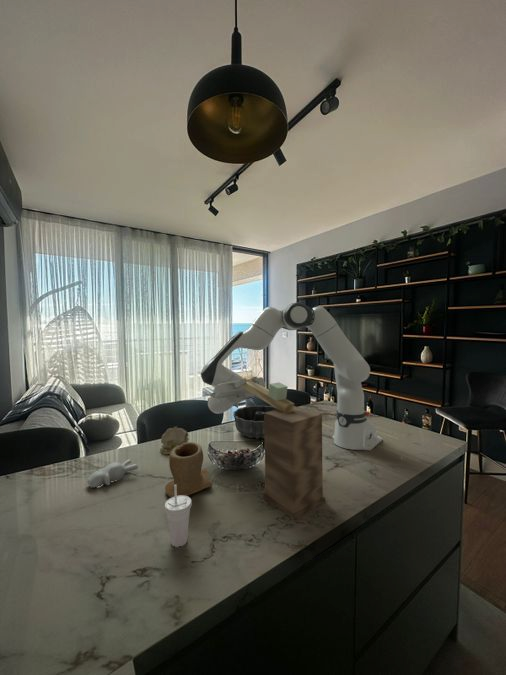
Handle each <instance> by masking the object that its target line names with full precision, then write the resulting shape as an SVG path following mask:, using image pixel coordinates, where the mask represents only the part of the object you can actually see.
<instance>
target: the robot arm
mask: <svg viewBox="0 0 506 675" xmlns="http://www.w3.org/2000/svg"><path fill="white" fill-rule="evenodd" d="M302 328H307V329H308V330H309V331H310V332H311V333H312V335H313V336H314V338H315V340H316V341H317V342H318V344H319V345H320V347H321V349H322V350H323V351H324V353H325V355H326V356H328V358H329V359H330V361H331V362H332V363H333V369H334V377H335V385H336V392H337V393H336V394H337V395H336V396H337V398H336V399H337V402H336V403H337V410H336V414H335V415H336V420H335V422H334V433H333V435H332V439H333V442H334V444H335V445H337V446H338V447H340V448H342V449H345V450H346V449H347V450H353V451H354V450H357V451H361V450H363V451H372V450H373V449H374V448H375V447H377V446H378V445H379V443H381V442H382V441H383V437H381V436H380V435H377V429H376V426H374V424H372V423H371V422H370V421H369V420H368V418H367V417H369V416H371V415H370V414H371V411H368V410H365V394H364V389H363V386H362V382H365V381H366V380H368V378H369V377H370V376H371V375H370V374H371V367H370V365H369V364H368V361H366V359H364V357H363V355H361V353H360V352H359V350H358V349H356V347H355V346H354V345H353V343H352V342H351V341H350V340H349V339H348V338H347V336H346V335H345V334H344V332H343V330H342V329H341V327H340V326H339V324H338V322H336V320H335V318H334V317H333V316H332V314H330V312H329V311H328V310H327V309H325V307H323V306H314V307H311V306H308V305H306V304H305V303H301V302H293V303H290V304H289V305H287V306H286V307H284V308H283V309H282V310H279V309H277V308H275V307H272V306H267V307H264V308H263V309H262V311H261V312H260V313H259V314H258V315H257V317H256V318H255V319H254V321H253V322H252V324H251V325H250V326H249V327H248V328H247V329H246V330H244V331H238V332H236V333H235V334H234V335H233V336H232V337H231V338H230V339H229V340H228V341H227V342H226V343H225V344H224V345H223V347H222V348H220V349H219V351H218V352H217V353H216V354H215V355H214V356H213V358H211V359H210V360H209V361H208V362H207V363H206V364H204V366H203V367H202V369H201V371H200V377H201V381H202V382H203V383H204V384H206V385H209V386H212V388H214V389H213V392H211V394H210V395H209V397H210V398H209V399H208V401H207V406H208V409H209V410H210V411H211V412H212V413H214V414H217V415H218V414H223V413H225V412H227V411H228V410H230V409H231V408H232V407H235V406H237V405H238V404H240V403H241V402H243V401H246V400H248V399H251V398H254V396H255V395H253V394H252V393H250V392H248V391H247V390H245V389H243V385H244V384H246V383H247V381H250V380H252V381H254V382H256V383H257V384H259V385H261V386H263V387H265V386H266V382H265V379H264V378H263V377H258V376H253V377H251V378H248V379H247V378H246V377H244V378H243V377H242V376H241V375H240V374H238V373H237V372H235V371H233V370H231V369H230V368H228V367H226V366H225V365H224V364H223V363H224V362H225V361H226V359H228V357H230V356H231V354H232V353H233V352H234V351H235V350H238V349H248V350H253V351H262V350H264V349H267V347H269V345H271V343H272V341H273V340H274V338H275V337H276V335H277V333H278V332H279V331H280V330H281V329H285V330H288V331H297V330H300V329H302ZM265 388H266V387H265Z"/></svg>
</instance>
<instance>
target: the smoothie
mask: <svg viewBox="0 0 506 675" xmlns="http://www.w3.org/2000/svg"><path fill="white" fill-rule="evenodd" d="M174 495H175V497H170V498H168V499H167V500H166V501H165V503H164V512H166V517H167V518H166V520H167V524H168V531H169V535H170V542H171V545H172V547H174V546H175V548H180V547H179V546H181V547H184V545H186V543H188V536H189V535H188V534H189V523H190V515H191V514H190V513H191V508H192V505H193V504H192V498H191V497H189V495H188V496H184V495H179V496H177V485H174Z"/></svg>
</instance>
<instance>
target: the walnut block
mask: <svg viewBox="0 0 506 675" xmlns="http://www.w3.org/2000/svg"><path fill="white" fill-rule="evenodd" d="M264 436H265V438H264V479H265V480H264V483H265V488H264V489H265V490H264V491H265V492H264V493H263V494H262V498H263V499H264V500H266V501H267V502H269V503H271V505H273V506H275V507H276V508H278V509H279V510H280V511H281V512H283V513H284V514H285V515H287V516H288V517H289V518H291V519H293V520H295V519H297V518H299V517H300V516H302V515H304V514H306V513H308V512H309V511H310V510H312V509H314V508H317V507H318V506H320V505H321V504H323V503H324V502H326V497H325V496H324V494H323V492H324V491H323V490H324V488H323V481H324V480H323V414H322V413H320V412H316V411H313V410H308V409H305V408H302V407H299V406H295V405H294V410H293V411H292V412H289V413H283V412H282V411H280V410H278V409H277V410H273V411H269V412H265V413H264Z"/></svg>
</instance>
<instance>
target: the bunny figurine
mask: <svg viewBox="0 0 506 675" xmlns="http://www.w3.org/2000/svg"><path fill="white" fill-rule="evenodd" d="M131 463H132V459H130V458H129V459H125V461H123V462H122V463H120V462H116V461H113V462H110V463H109V464H107V465H106V466H105V467H104V468H98V469H97V471H94V472H92V474H90V476H89V478H87V479H86V482H87V485H88V486H89V487H90V488H95V487H98V486H101V485H102V484H104V485H106V486H110V485H111V483H112V482H111V481H115V480H118V479H120V480H122V479H123V478H124V475H125V473H126V472H130V471H136V470H138V469H139V466H138V463H134V464H131ZM129 464H130V465H129ZM121 478H122V479H121ZM118 481H119V480H118ZM110 482H111V483H110Z"/></svg>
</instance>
